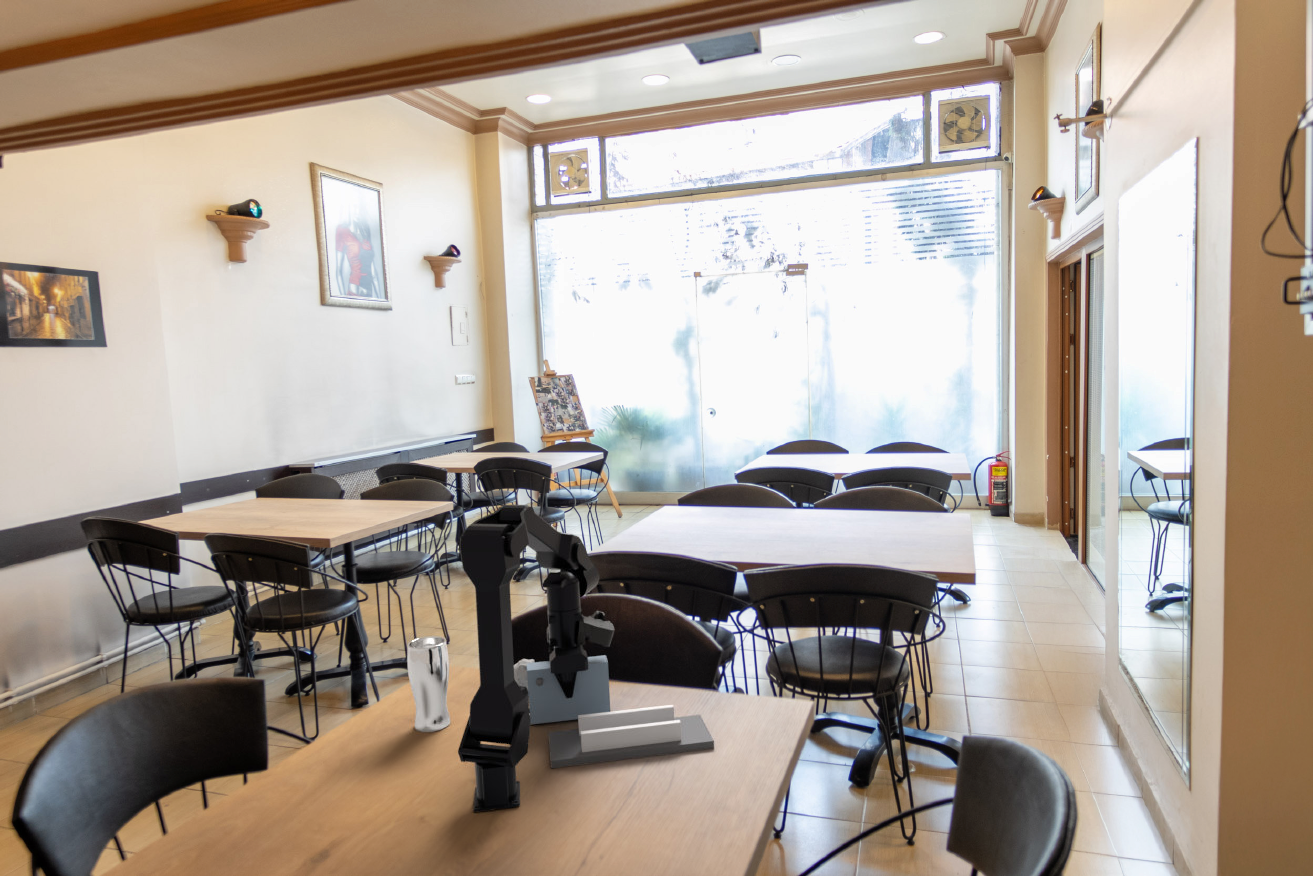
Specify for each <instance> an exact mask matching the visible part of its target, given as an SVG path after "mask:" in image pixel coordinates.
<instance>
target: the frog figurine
mask: <svg viewBox="0 0 1313 876" xmlns="http://www.w3.org/2000/svg"><path fill="white" fill-rule="evenodd" d="M534 662H535V659H533V658H531V659H527V658H522V659H520V660H518V662H517V663H515V664H514V678H515V681H516V682H517V684H518V685H519V686H525V687H526V688H527V690H528V678H527V663H534Z"/></svg>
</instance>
